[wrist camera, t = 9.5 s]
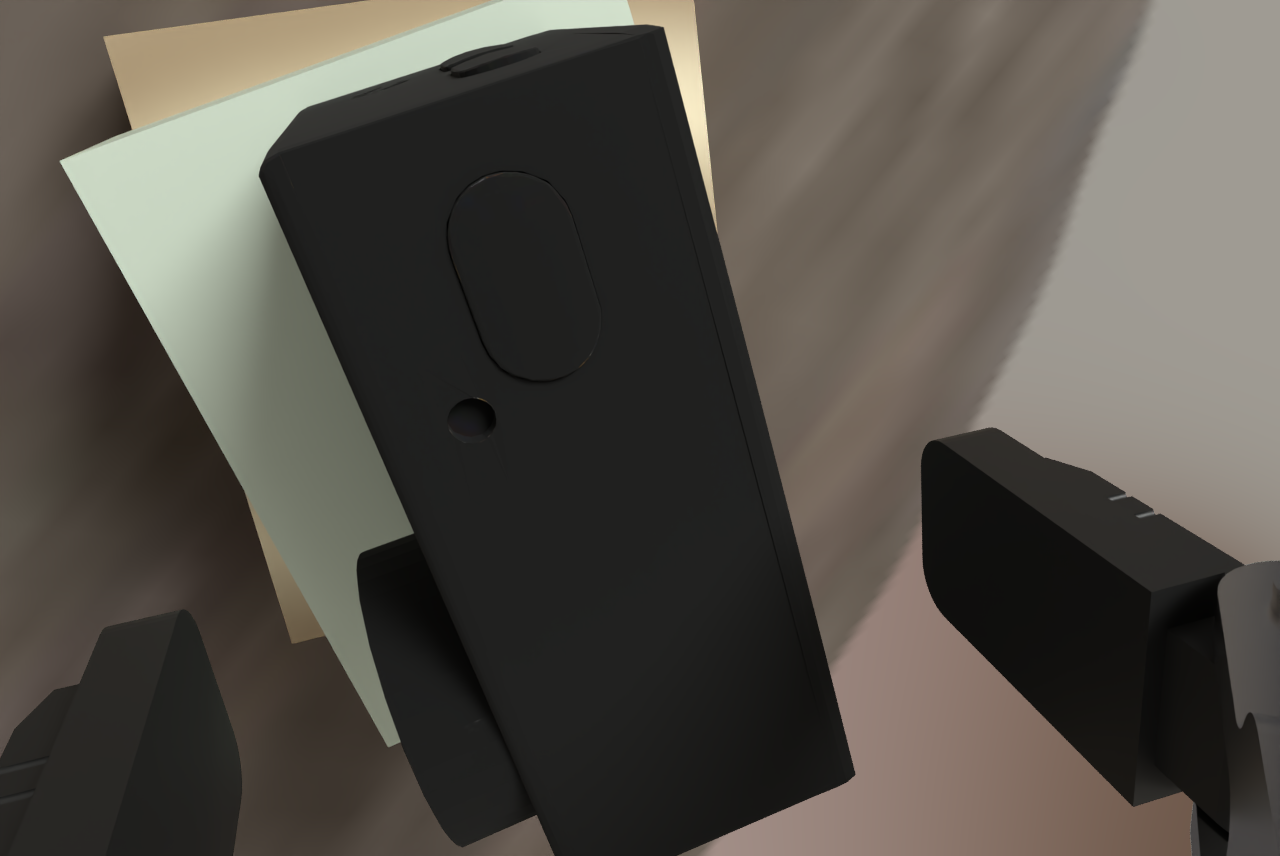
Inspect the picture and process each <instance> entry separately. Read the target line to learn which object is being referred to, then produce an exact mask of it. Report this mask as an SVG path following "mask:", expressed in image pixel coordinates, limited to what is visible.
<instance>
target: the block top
mask: <svg viewBox="0 0 1280 856" xmlns="http://www.w3.org/2000/svg"><path fill="white" fill-rule="evenodd" d="M626 25H634V21H633V18H632V15H631V12H630V8H629V5H628V2H627V0H491V1H488V2H485V3H483V4H480V5H477V6H474V7H472V8H469V9H466V10H463V11H460V12H458V13H455V14H452V15H449V16H447V17H444V18H441V19H438V20H436V21H433V22H430V23H427V24H424V25H422V26H419V27H416V28H413V29H411V30H408V31H405V32H402V33H400V34H397V35H394V36H391V37H389V38H386V39H383V40H380V41H377V42H375V43H372V44H369V45H366V46H364V47H361V48H358V49H355V50H353V51H350V52H347V53H344V54H341V55H339V56H336V57H333V58H330V59H328V60H325V61H322V62H319V63H317V64H314V65H311V66H308V67H305V68H303V69H300V70H297V71H294V72H292V73H289V74H286V75H283V76H281V77H278V78H275V79H272V80H270V81H267V82H264V83H261V84H258V85H256V86H253V87H250V88H247V89H245V90H242V91H239V92H236V93H234V94H231V95H228V96H225V97H222V98H220V99H217V100H214V101H211V102H209V103H206V104H203V105H200V106H198V107H195V108H192V109H189V110H187V111H184V112H181V113H178V114H175V115H173V116H170V117H167V118H164V119H162V120H159V121H156V122H153V123H151V124H148V125H145V126H142V127H139V128H137V129H134V130H131V131H128V132H126V133H123V134H120V135H117V136H115V137H112V138H110V139H108V140H106V141H103V142H101V143H99V144H97V145H94V146H92V147H90V148H88V149H85V150H83V151H81V152H79V153H76V154H74V155H72V156H70V157H68V158H65V159H63V160H61V161H60V163H61V164H62V166H63V168H64V170H65V172H66V173H67V175H68V177H69V179H70V181H71V182H72V184H73V186H74V188H75V189H76V191H77V193H78V195H79V197H80V198H81V200H82V202H83V204H84V206H85V207H86V209H87V211H88V213H89V214H90V216H91V218H92V220H93V222H94V223H95V225H96V227H97V229H98V230H99V232H100V234H101V236H102V238H103V239H104V241H105V243H106V245H107V247H108V248H109V250H110V252H111V254H112V255H113V257H114V259H115V261H116V263H117V264H118V266H119V268H120V270H121V272H122V273H123V275H124V277H125V279H126V280H127V282H128V284H129V286H130V288H131V289H132V291H133V293H134V295H135V297H136V298H137V300H138V302H139V304H140V305H141V307H142V309H143V311H144V313H145V314H146V316H147V318H148V320H149V321H150V323H151V325H152V327H153V329H154V330H155V332H156V334H157V336H158V338H159V339H160V341H161V343H162V345H163V346H164V348H165V350H166V352H167V354H168V355H169V357H170V359H171V361H172V363H173V364H174V366H175V368H176V370H177V371H178V373H179V375H180V377H181V379H182V380H183V382H184V384H185V386H186V387H187V389H188V391H189V393H190V395H191V396H192V398H193V400H194V402H195V404H196V405H197V407H198V409H199V411H200V412H201V414H202V416H203V418H204V420H205V421H206V423H207V425H208V427H209V429H210V430H211V432H212V434H213V436H214V437H215V439H216V441H217V443H218V445H219V446H220V448H221V450H222V452H223V453H224V455H225V457H226V459H227V461H228V462H229V464H230V466H231V468H232V470H233V471H234V473H235V475H236V477H237V478H238V480H239V482H240V484H241V486H242V487H243V489H244V491H245V493H246V495H247V496H248V498H249V500H250V502H251V503H252V505H253V507H254V509H255V511H256V512H257V514H258V516H259V518H260V520H261V521H262V523H263V525H264V527H265V528H266V530H267V532H268V534H269V536H270V537H271V539H272V541H273V543H274V544H275V546H276V548H277V550H278V552H279V553H280V555H281V557H282V559H283V561H284V562H285V564H286V566H287V568H288V569H289V571H290V573H291V575H292V577H293V578H294V580H295V582H296V584H297V586H298V587H299V589H300V591H301V593H302V594H303V596H304V598H305V600H306V602H307V603H308V605H309V607H310V609H311V610H312V612H313V614H314V616H315V618H316V619H317V621H318V623H319V625H320V627H321V628H322V630H323V632H324V634H325V635H326V637H327V639H328V641H329V643H330V644H331V646H332V648H333V650H334V652H335V653H336V655H337V657H338V659H339V660H340V662H341V664H342V666H343V668H344V669H345V671H346V673H347V675H348V677H349V678H350V680H351V682H352V684H353V685H354V687H355V689H356V691H357V693H358V694H359V696H360V698H361V700H362V701H363V703H364V705H365V707H366V709H367V710H368V712H369V714H370V716H371V718H372V719H373V721H374V723H375V725H376V726H377V728H378V730H379V732H380V734H381V735H382V737H383V739H384V741H385V743H386V744H387V746H388V747H391V746H393V745H395V744H397V743H400V742H401V741H400V739H399V736H398V733H397V730H396V728H395V725H394V722H393V719H392V717H391V714H390V711H389V708H388V705H387V703H386V700H385V697H384V694H383V690H382V687H381V683H380V680H379V677H378V673H377V670H376V667H375V663H374V660H373V657H372V653H371V650H370V647H369V642H368V638H367V633H366V628H365V624H364V619H363V615H362V610H361V606H360V600H359V592H358V583H357V572H356V569H357V560H358V557H359V554H360V553H362V552H364V551H366V550H369V549H372V548H375V547H377V546H380V545H383V544H386V543H388V542H391V541H394V540H397V539H399V538H402V537H405V536H408V535H411V534H413V533H414V532H413V529H412V527H411V525H410V523H409V520H408V518H407V516H406V513H405V511H404V509H403V506H402V504H401V502H400V500H399V497H398V495H397V493H396V490H395V488H394V486H393V484H392V481H391V479H390V477H389V474H388V472H387V470H386V467H385V465H384V463H383V461H382V458H381V456H380V454H379V451H378V449H377V447H376V445H375V442H374V440H373V438H372V435H371V433H370V431H369V428H368V426H367V424H366V422H365V419H364V417H363V415H362V412H361V410H360V408H359V406H358V403H357V401H356V399H355V396H354V394H353V392H352V389H351V387H350V385H349V383H348V380H347V378H346V376H345V373H344V371H343V369H342V367H341V364H340V362H339V360H338V357H337V355H336V353H335V350H334V348H333V346H332V344H331V341H330V339H329V337H328V334H327V332H326V330H325V328H324V325H323V323H322V321H321V318H320V316H319V314H318V311H317V309H316V307H315V305H314V302H313V300H312V298H311V295H310V293H309V291H308V289H307V286H306V284H305V282H304V279H303V277H302V275H301V272H300V270H299V268H298V266H297V263H296V261H295V259H294V256H293V254H292V252H291V250H290V247H289V245H288V243H287V240H286V238H285V236H284V233H283V231H282V229H281V227H280V224H279V222H278V220H277V217H276V215H275V213H274V211H273V208H272V206H271V204H270V201H269V199H268V197H267V194H266V192H265V190H264V188H263V185H262V183H261V181H260V178H259V171H260V167H261V165H262V163H263V161H264V158H265V156H266V154H267V152H268V150H269V149H270V148H271V146H272V145H273V144H274V143H275V142H276V140H277V139H278V138H279V137H280V135H281V134H282V133H283V132H284V130H285V129H286V128H287V127H288V125H289V124H290V123H291V122H292V120H293V119H294V118H295V117H296V115H297V114H298V113H299V112H300V111H302V110H303V109H305V108H306V107H309V106H312V105H315V104H318V103H321V102H324V101H327V100H330V99H334V98H337V97H340V96H343V95H346V94H349V93H352V92H355V91H359V90H362V89H365V88H368V87H371V86H374V85H377V84H381V83H384V82H387V81H390V80H393V79H396V78H399V77H402V76H406V75H409V74H412V73H415V72H418V71H421V70H424V69H427V68H431V67H434V66H437V65H440V64H441V63H442V62H444V61H446V60H448V59H450V58H452V57H454V56H457V55H459V54H462V53H464V52H468V51H471V50H475V49H479V48H482V47H488V46H494V45H500V44H506V43H509V42H512V41H515V40H518V39H521V38H524V37H527V36H531V35H534V34H538V33H541V32H545V31H548V30H556V29H573V28H591V27H608V26H626ZM383 90H384V89H383ZM380 91H381V90H380ZM377 92H378V91H377ZM369 94H370V93H369ZM362 95H363V94H362ZM365 95H367V94H365ZM359 96H360V95H359ZM363 96H364V95H363ZM356 97H358V96H356ZM360 97H362V96H360ZM353 98H355V97H353ZM358 98H359V97H358ZM351 99H352V98H351ZM355 99H356V98H355Z"/></svg>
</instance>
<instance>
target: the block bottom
mask: <svg viewBox="0 0 1280 856" xmlns="http://www.w3.org/2000/svg"><path fill="white" fill-rule="evenodd" d="M488 1H491V0H369V1H361V2H354V3H347V4H339V5H332V6H325V7H317V8H310V9H303V10H295V11H288V12H281V13H273V14H266V15H259V16H251V17H244V18H237V19H229V20H222V21H215V22H207V23H200V24H193V25H185V26H178V27H171V28H163V29H156V30H149V31H141V32H134V33H127V34H119V35H112V36H105V37H104V40H105V44H106V47H107V50H108V53H109V56H110V60H111V63H112V66H113V69H114V73H115V76H116V79H117V82H118V85H119V89H120V92H121V95H122V98H123V102H124V105H125V108H126V111H127V114H128V118H129V121H130V124H131V127H132V130H134V129H137V128H139V127H142V126H145V125H148V124H151V123H153V122H156V121H159V120H162V119H164V118H167V117H170V116H173V115H175V114H178V113H181V112H184V111H187V110H189V109H192V108H195V107H198V106H200V105H203V104H206V103H209V102H211V101H214V100H217V99H220V98H222V97H225V96H228V95H231V94H234V93H236V92H239V91H242V90H245V89H247V88H250V87H253V86H256V85H258V84H261V83H264V82H267V81H270V80H272V79H275V78H278V77H281V76H283V75H286V74H289V73H292V72H294V71H297V70H300V69H303V68H305V67H308V66H311V65H314V64H317V63H319V62H322V61H325V60H328V59H330V58H333V57H336V56H339V55H341V54H344V53H347V52H350V51H353V50H355V49H358V48H361V47H364V46H366V45H369V44H372V43H375V42H377V41H380V40H383V39H386V38H389V37H391V36H394V35H397V34H400V33H402V32H405V31H408V30H411V29H413V28H416V27H419V26H422V25H424V24H427V23H430V22H433V21H436V20H438V19H441V18H444V17H447V16H449V15H452V14H455V13H458V12H460V11H463V10H466V9H469V8H472V7H474V6H477V5H480V4H483V3H485V2H488ZM627 2H628V5H629V8H630V12H631V15H632V18H633V21H634V25H644V24H648V25H655V26H661V27H664V30H665V34H666V38H667V41H668V45H669V49H670V53H671V57H672V61H673V65H674V68H675V72H676V76H677V80H678V84H679V88H680V92H681V95H682V99H683V103H684V107H685V111H686V115H687V119H688V122H689V126H690V130H691V134H692V138H693V142H694V146H695V149H696V153H697V157H698V161H699V165H700V169H701V173H702V176H703V180H704V184H705V188H706V192H707V196H708V200H709V203H710V207H711V211H712V215H713V219H714V223H715V227H716V231H717V224H716V214H715V204H714V194H713V184H712V175H711V165H710V155H709V145H708V135H707V126H706V116H705V106H704V96H703V86H702V76H701V67H700V57H699V47H698V37H697V27H696V17H695V8H694V0H627ZM245 494H246V493H245ZM246 497H247V501H248V504H249V507H250V510H251V513H252V517H253V520H254V523H255V526H256V530H257V533H258V536H259V539H260V542H261V546H262V549H263V552H264V555H265V559H266V562H267V565H268V568H269V571H270V575H271V578H272V581H273V584H274V588H275V591H276V594H277V597H278V600H279V604H280V607H281V610H282V613H283V616H284V620H285V623H286V626H287V629H288V633H289V636H290V639H291V642H292V644H294V643H298V642H302V641H306V640H310V639H314V638H318V637H322V636H326V635H325V634H324V632H323V630H322V628H321V627H320V625H319V623H318V621H317V619H316V618H315V616H314V614H313V612H312V610H311V609H310V607H309V605H308V603H307V602H306V600H305V598H304V596H303V594H302V593H301V591H300V589H299V587H298V586H297V584H296V582H295V580H294V578H293V577H292V575H291V573H290V571H289V569H288V568H287V566H286V564H285V562H284V561H283V559H282V557H281V555H280V553H279V552H278V550H277V548H276V546H275V544H274V543H273V541H272V539H271V537H270V536H269V534H268V532H267V530H266V528H265V527H264V525H263V523H262V521H261V520H260V518H259V516H258V514H257V512H256V511H255V509H254V507H253V505H252V503H251V502H250V500H249V498H248V496H247V495H246Z"/></svg>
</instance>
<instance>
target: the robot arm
mask: <svg viewBox="0 0 1280 856" xmlns="http://www.w3.org/2000/svg"><path fill="white" fill-rule="evenodd" d="M921 491H922V550H923V553H922V555H923V569H924V575H925V579H926V582H927V586H928V589H929V592H930V594H931V597H932V599H933V601H934V603H935V604H936V606H937V608H938V609H939V611H940V612H941V613H942V614H943V616H944V617H945V618H946V619H947V620H948V621H949V622H950V623H951V624H952V625H953V626H954V627H955V628H956V629H957V630H958V631H959V632H960V633H961V634H962V635H963V636H964V637H965V638H966V639H967V640H968V641H969V642H970V643H971V644H972V645H973V646H974V647H975V648H976V649H977V650H978V651H979V652H980V653H981V654H982V655H983V656H984V657H985V658H986V659H987V660H988V661H989V662H990V663H991V664H992V665H993V666H994V667H995V668H996V669H997V670H998V671H999V672H1000V673H1001V674H1002V675H1003V676H1004V677H1005V678H1006V679H1007V680H1008V681H1009V682H1010V683H1011V684H1012V685H1013V686H1014V687H1015V688H1016V689H1017V690H1018V691H1019V692H1020V693H1021V694H1022V695H1023V696H1024V697H1025V698H1026V699H1027V700H1028V701H1029V702H1030V703H1031V704H1032V705H1033V706H1034V707H1035V708H1036V710H1037V711H1038V712H1040V714H1042V716H1044V717H1045V718H1046V720H1047V721H1048V722H1049V723H1050V724H1052V726H1053V727H1054V728H1055V729H1056V730H1057V731H1058V732H1059V733H1060V734H1061V735H1062V736H1063V737H1064V738H1065V739H1066V740H1068V742H1069V743H1070V744H1071V745H1072V746H1073V747H1074V748H1075V749H1076V750H1077V751H1078V752H1079V753H1080V754H1081V755H1082V756H1083V757H1084V758H1085V759H1086V760H1087V761H1088V762H1089V763H1090V764H1091V765H1092V766H1093V767H1094V768H1095V769H1096V770H1097V771H1098V772H1099V773H1100V774H1101V775H1102V776H1103V777H1104V778H1105V779H1106V780H1107V781H1108V782H1109V783H1110V784H1111V785H1112V786H1113V787H1114V788H1115V789H1116V790H1117V791H1118V792H1119V793H1120V794H1121V795H1122V796H1123V797H1124V798H1125V799H1126V800H1127V801H1128V802H1129V803H1130V804H1131V805H1132V806H1133V807H1134V806H1137V805H1141V804H1144V803H1147V802H1150V801H1153V800H1156V799H1160V798H1163V797H1166V796H1170V795H1173V794H1176V793H1179V792H1182V791H1183V792H1184V793H1185V794H1186V795H1187V796H1188V797H1189V798H1190V799H1191V800H1192V801H1193V810H1192V817H1191V828H1190V836H1191V851H1192V856H1280V561H1265V562H1257V563H1252V564H1248V565H1244V564H1242V563H1241V562H1239V561H1238V560H1236V559H1234V558H1233V557H1231V556H1229V555H1228V554H1226V553H1224V552H1223V551H1221V550H1219V549H1217V548H1216V547H1215V546H1213V545H1211V544H1210V543H1208V542H1206V541H1205V540H1203V539H1201V538H1200V537H1198V536H1196V535H1195V534H1193V533H1192V532H1190V531H1188V530H1186V529H1185V528H1183V527H1181V526H1180V525H1178V524H1177V523H1175V522H1173V521H1172V520H1170V519H1169V518H1167V517H1165V516H1164V515H1162V514H1158V515H1155V514H1154V511H1153V509H1152V508H1150V507H1149V506H1147V505H1146V504H1144V503H1142V502H1141V501H1139V500H1137V499H1136V498H1134V497H1126V494H1125V492H1124V491H1123V490H1121V489H1119V488H1118V487H1116V486H1114V485H1113V484H1111V483H1109V482H1108V481H1106V480H1104V479H1103V478H1101V477H1100V476H1098V475H1096V474H1095V473H1093V472H1091V471H1088V470H1085V469H1081V468H1078V467H1075V466H1072V465H1068V464H1065V463H1062V462H1059V461H1055V460H1051V459H1049V458H1043V457H1042V456H1040V455H1038V454H1037V453H1036V452H1034V451H1032V450H1030V449H1029V448H1028V447H1026V446H1024V445H1023V444H1021V443H1019V442H1018V441H1017V440H1015V439H1013V438H1012V437H1010V436H1009V435H1007V434H1005V433H1004V432H1002V431H1001V430H998V429H997V428H986V429H981V430H977V431H973V432H968V433H964V434H959V435H955V436H951V437H946V438H942V439H937V440H933V441H931V442H929V443H928V444H927V445H926V446H925V448H924V451H923V454H922V460H921ZM241 795H242V776H241V765H240V758H239V752H238V747H237V743H236V739H235V735H234V732H233V729H232V726H231V723H230V720H229V717H228V714H227V711H226V708H225V705H224V703H223V700H222V697H221V694H220V691H219V688H218V685H217V682H216V679H215V676H214V673H213V670H212V667H211V665H210V662H209V659H208V656H207V653H206V650H205V647H204V644H203V641H202V638H201V635H200V632H199V630H198V627H197V625H196V623H195V621H194V619H193V617H192V616H191V614H190V613H189V612H188V611H187V610H184V609H183V610H179V611H174V612H170V613H165V614H161V615H157V616H152V617H148V618H143V619H139V620H135V621H130V622H126V623H121V624H117V625H113V626H108V627H106V628H104V629H103V630H102V632H101V634H100V636H99V638H98V641H97V643H96V646H95V648H94V650H93V653H92V655H91V658H90V660H89V662H88V665H87V667H86V669H85V672H84V674H83V677H82V679H81V681H80V684H78V685H74V686H69V687H65V688H61V689H57V690H54V691H53V692H52V693H51V694H50V695H49V696H48V697H47V698H46V699H45V700H44V701H43V702H42V703H41V704H40V705H39V706H37V707H36V708H35V709H34V710H33V711H32V712H31V713H30V714H29V715H28V716H27V717H26V718H25V719H24V720H23V721H22V722H21V723H20V724H19V725H18V726H17V727H16V728H15V729H14V731H13V733H12V735H11V737H10V740H9V742H8V744H7V746H6V748H5V750H4V752H3V754H2V756H1V758H0V856H233V851H234V844H235V837H236V830H237V823H238V817H239V810H240V803H241Z"/></svg>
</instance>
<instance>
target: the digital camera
mask: <svg viewBox="0 0 1280 856" xmlns="http://www.w3.org/2000/svg"><path fill="white" fill-rule="evenodd" d="M383 89H384V90H383ZM380 90H381V91H380ZM377 91H378V92H377ZM369 93H370V94H369ZM362 94H363V95H364V96H363V95H362ZM365 94H367V95H365ZM359 95H360V96H362V97H360V96H359ZM356 96H358V97H359V98H358V97H356ZM353 97H355V98H356V99H355V98H353ZM351 98H352V99H351ZM259 178H260V181H261V183H262V185H263V188H264V190H265V192H266V194H267V197H268V199H269V201H270V204H271V206H272V208H273V211H274V213H275V215H276V217H277V220H278V222H279V224H280V227H281V229H282V231H283V233H284V236H285V238H286V240H287V243H288V245H289V247H290V250H291V252H292V254H293V256H294V259H295V261H296V263H297V266H298V268H299V270H300V272H301V275H302V277H303V279H304V282H305V284H306V286H307V289H308V291H309V293H310V295H311V298H312V300H313V302H314V305H315V307H316V309H317V311H318V314H319V316H320V318H321V321H322V323H323V325H324V328H325V330H326V332H327V334H328V337H329V339H330V341H331V344H332V346H333V348H334V350H335V353H336V355H337V357H338V360H339V362H340V364H341V367H342V369H343V371H344V373H345V376H346V378H347V380H348V383H349V385H350V387H351V389H352V392H353V394H354V396H355V399H356V401H357V403H358V406H359V408H360V410H361V412H362V415H363V417H364V419H365V422H366V424H367V426H368V428H369V431H370V433H371V435H372V438H373V440H374V442H375V445H376V447H377V449H378V451H379V454H380V456H381V458H382V461H383V463H384V465H385V467H386V470H387V472H388V474H389V477H390V479H391V481H392V484H393V486H394V488H395V490H396V493H397V495H398V497H399V500H400V502H401V504H402V506H403V509H404V511H405V513H406V516H407V518H408V520H409V523H410V525H411V527H412V529H413V532H414V533H413V534H411V535H408V536H405V537H402V538H399V539H397V540H394V541H391V542H388V543H386V544H383V545H380V546H377V547H375V548H372V549H369V550H366V551H364V552H362V553H360V554H359V557H358V560H357V569H356V572H357V583H358V592H359V600H360V606H361V610H362V615H363V619H364V624H365V628H366V633H367V638H368V642H369V647H370V650H371V653H372V657H373V660H374V663H375V667H376V670H377V673H378V677H379V680H380V683H381V687H382V690H383V694H384V697H385V700H386V703H387V705H388V708H389V711H390V714H391V717H392V719H393V722H394V725H395V728H396V730H397V733H398V736H399V739H400V741H401V744H402V747H403V749H404V752H405V754H406V756H407V758H408V761H409V763H410V765H411V768H412V770H413V772H414V774H415V777H416V779H417V781H418V783H419V786H420V788H421V790H422V792H423V795H424V797H425V799H426V800H427V802H428V804H429V806H430V808H431V809H432V811H433V813H434V815H435V817H436V818H437V820H438V822H439V824H440V825H441V827H442V829H443V830H444V831H445V833H446V834H447V835H448V837H449V838H450V839H451V840H452V841H453V842H454V843H455V844H456V845H458V846H461V847H464V846H467V845H469V844H471V843H473V842H476V841H478V840H480V839H482V838H485V837H487V836H489V835H492V834H494V833H496V832H498V831H501V830H503V829H505V828H508V827H510V826H512V825H514V824H517V823H519V822H521V821H523V820H526V819H528V818H530V817H533V816H535V815H537V816H538V819H539V821H540V823H541V825H542V828H543V830H544V832H545V835H546V837H547V839H548V841H549V844H550V846H551V848H552V851H553V853H554V855H555V856H677V855H679V854H682V853H684V852H686V851H689V850H691V849H693V848H696V847H698V846H700V845H703V844H705V843H707V842H710V841H712V840H714V839H717V838H719V837H721V836H723V835H726V834H728V833H730V832H733V831H735V830H737V829H740V828H742V827H744V826H747V825H749V824H751V823H754V822H756V821H758V820H760V819H763V818H765V817H767V816H770V815H772V814H774V813H777V812H779V811H781V810H784V809H786V808H788V807H791V806H793V805H795V804H798V803H800V802H802V801H805V800H807V799H809V798H811V797H814V796H816V795H819V794H821V793H824V792H826V791H829V790H831V789H833V788H836V787H838V786H840V785H842V784H844V783H846V782H848V781H849V780H850V779H851V778H852V777H854V776H855V771H854V767H853V763H852V759H851V755H850V751H849V747H848V743H847V739H846V735H845V731H844V727H843V723H842V719H841V715H840V711H839V707H838V703H837V699H836V695H835V691H834V687H833V683H832V679H831V675H830V671H829V667H828V663H827V659H826V655H825V651H824V647H823V643H822V639H821V635H820V631H819V627H818V624H817V620H816V616H815V612H814V608H813V604H812V600H811V596H810V592H809V588H808V585H807V581H806V577H805V573H804V569H803V565H802V561H801V557H800V553H799V549H798V545H797V542H796V538H795V534H794V530H793V526H792V522H791V518H790V514H789V510H788V506H787V502H786V499H785V495H784V491H783V487H782V483H781V479H780V475H779V471H778V467H777V463H776V459H775V456H774V452H773V448H772V444H771V440H770V436H769V432H768V428H767V424H766V420H765V417H764V413H763V409H762V405H761V401H760V397H759V393H758V389H757V385H756V381H755V377H754V374H753V370H752V366H751V362H750V358H749V354H748V350H747V346H746V342H745V339H744V335H743V331H742V327H741V323H740V319H739V315H738V312H737V308H736V304H735V300H734V296H733V292H732V288H731V285H730V281H729V277H728V273H727V269H726V265H725V261H724V258H723V254H722V250H721V246H720V242H719V238H718V234H717V231H716V227H715V223H714V219H713V215H712V211H711V207H710V203H709V200H708V196H707V192H706V188H705V184H704V180H703V176H702V173H701V169H700V165H699V161H698V157H697V153H696V149H695V146H694V142H693V138H692V134H691V130H690V126H689V122H688V119H687V115H686V111H685V107H684V103H683V99H682V95H681V92H680V88H679V84H678V80H677V76H676V72H675V68H674V65H673V61H672V57H671V53H670V49H669V45H668V41H667V38H666V34H665V30H664V27H661V26H655V25H648V24H644V25H626V26H608V27H591V28H573V29H556V30H548V31H545V32H541V33H538V34H534V35H531V36H527V37H524V38H521V39H518V40H515V41H512V42H509V43H506V44H500V45H494V46H488V47H482V48H479V49H475V50H471V51H468V52H464V53H462V54H459V55H457V56H454V57H452V58H450V59H448V60H446V61H444V62H442V63H441V64H440V65H437V66H434V67H431V68H427V69H424V70H421V71H418V72H415V73H412V74H409V75H406V76H402V77H399V78H396V79H393V80H390V81H387V82H384V83H381V84H377V85H374V86H371V87H368V88H365V89H362V90H359V91H355V92H352V93H349V94H346V95H343V96H340V97H337V98H334V99H330V100H327V101H324V102H321V103H318V104H315V105H312V106H309V107H306V108H305V109H303V110H302V111H300V112H299V113H298V114H297V115H296V117H295V118H294V119H293V120H292V122H291V123H290V124H289V125H288V127H287V128H286V129H285V130H284V132H283V133H282V134H281V135H280V137H279V138H278V139H277V140H276V142H275V143H274V144H273V145H272V146H271V148H270V149H269V150H268V152H267V154H266V156H265V158H264V161H263V163H262V165H261V167H260V171H259Z"/></svg>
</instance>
